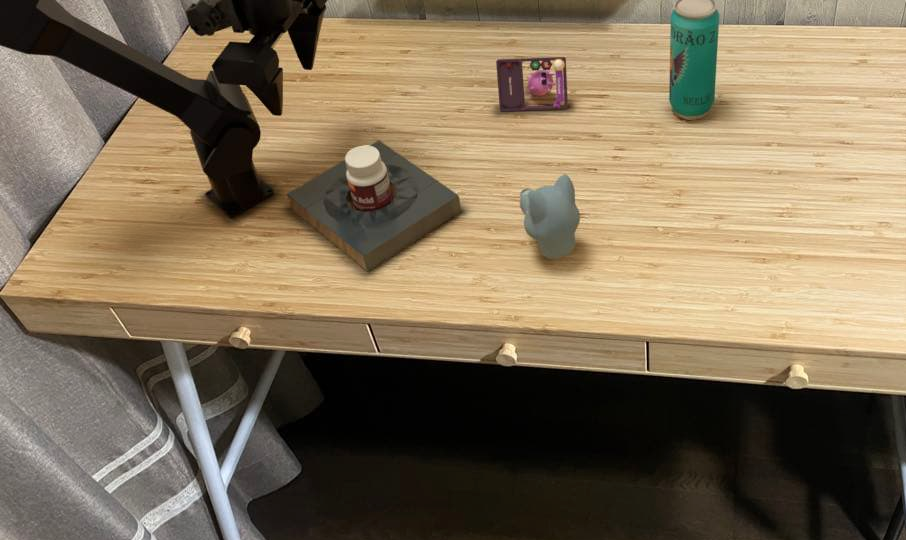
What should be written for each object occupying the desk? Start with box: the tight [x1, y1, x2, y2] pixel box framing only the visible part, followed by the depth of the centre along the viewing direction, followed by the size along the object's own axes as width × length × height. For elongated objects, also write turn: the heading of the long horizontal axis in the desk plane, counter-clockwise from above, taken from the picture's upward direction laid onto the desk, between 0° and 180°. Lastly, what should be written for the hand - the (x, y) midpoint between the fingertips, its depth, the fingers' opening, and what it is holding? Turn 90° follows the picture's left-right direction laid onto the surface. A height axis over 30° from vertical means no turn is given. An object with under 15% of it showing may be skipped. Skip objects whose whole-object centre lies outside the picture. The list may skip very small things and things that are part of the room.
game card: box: [495, 56, 569, 112], centre depth 133 cm, size 7×5×9 cm
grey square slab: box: [285, 140, 462, 272], centre depth 121 cm, size 16×14×2 cm
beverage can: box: [668, 0, 720, 121], centre depth 125 cm, size 6×6×15 cm
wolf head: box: [519, 173, 581, 260], centre depth 112 cm, size 6×9×10 cm
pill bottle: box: [344, 144, 395, 212], centre depth 119 cm, size 5×5×8 cm
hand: (293, 91), depth 119 cm, fingers open, 9 cm apart
